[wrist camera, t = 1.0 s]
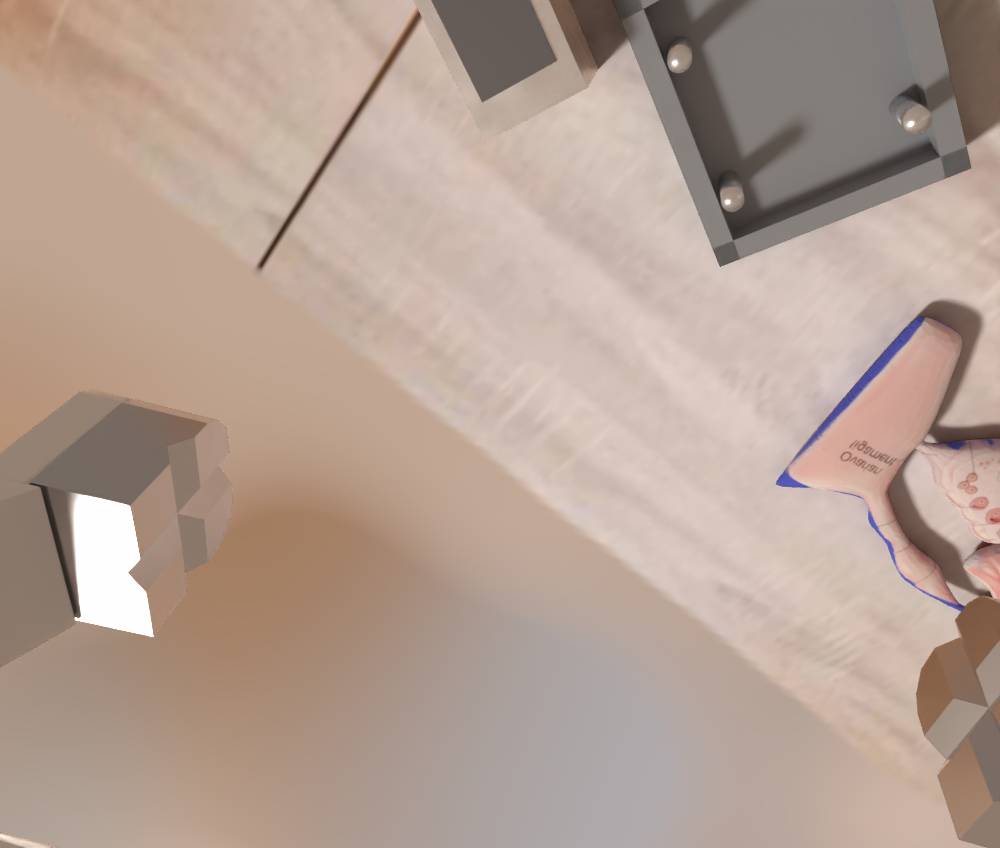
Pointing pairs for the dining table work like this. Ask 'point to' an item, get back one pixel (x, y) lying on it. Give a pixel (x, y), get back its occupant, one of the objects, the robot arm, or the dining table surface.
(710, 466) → the dining table surface
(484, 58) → the block
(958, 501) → the anatomical model
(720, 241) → the pin tray
